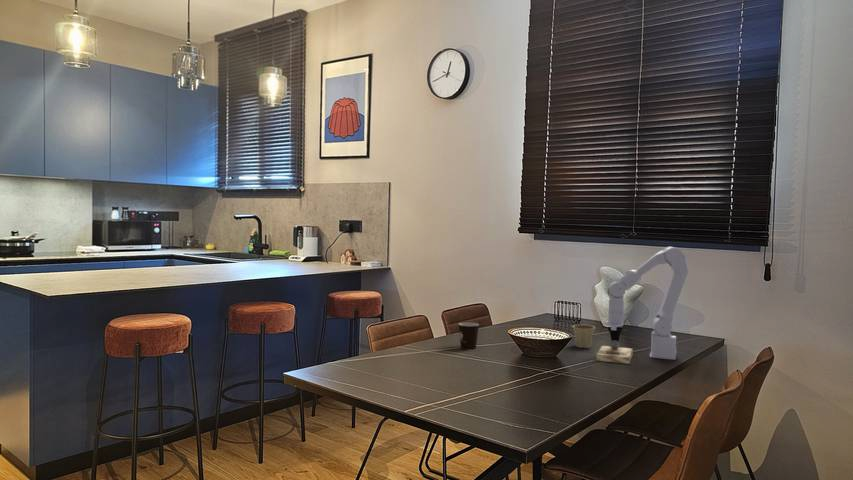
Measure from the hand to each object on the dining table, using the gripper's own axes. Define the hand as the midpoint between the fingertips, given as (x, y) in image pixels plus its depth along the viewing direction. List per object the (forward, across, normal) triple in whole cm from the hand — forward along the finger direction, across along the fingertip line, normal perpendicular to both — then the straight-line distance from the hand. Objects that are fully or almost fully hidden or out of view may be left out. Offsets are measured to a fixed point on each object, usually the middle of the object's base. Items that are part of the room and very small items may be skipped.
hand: (614, 345), depth 238 cm
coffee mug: (+4, +15, -58) cm, 60 cm away
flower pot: (+4, -8, -14) cm, 16 cm away
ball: (0, +2, 0) cm, 2 cm away
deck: (+4, +6, +1) cm, 7 cm away
